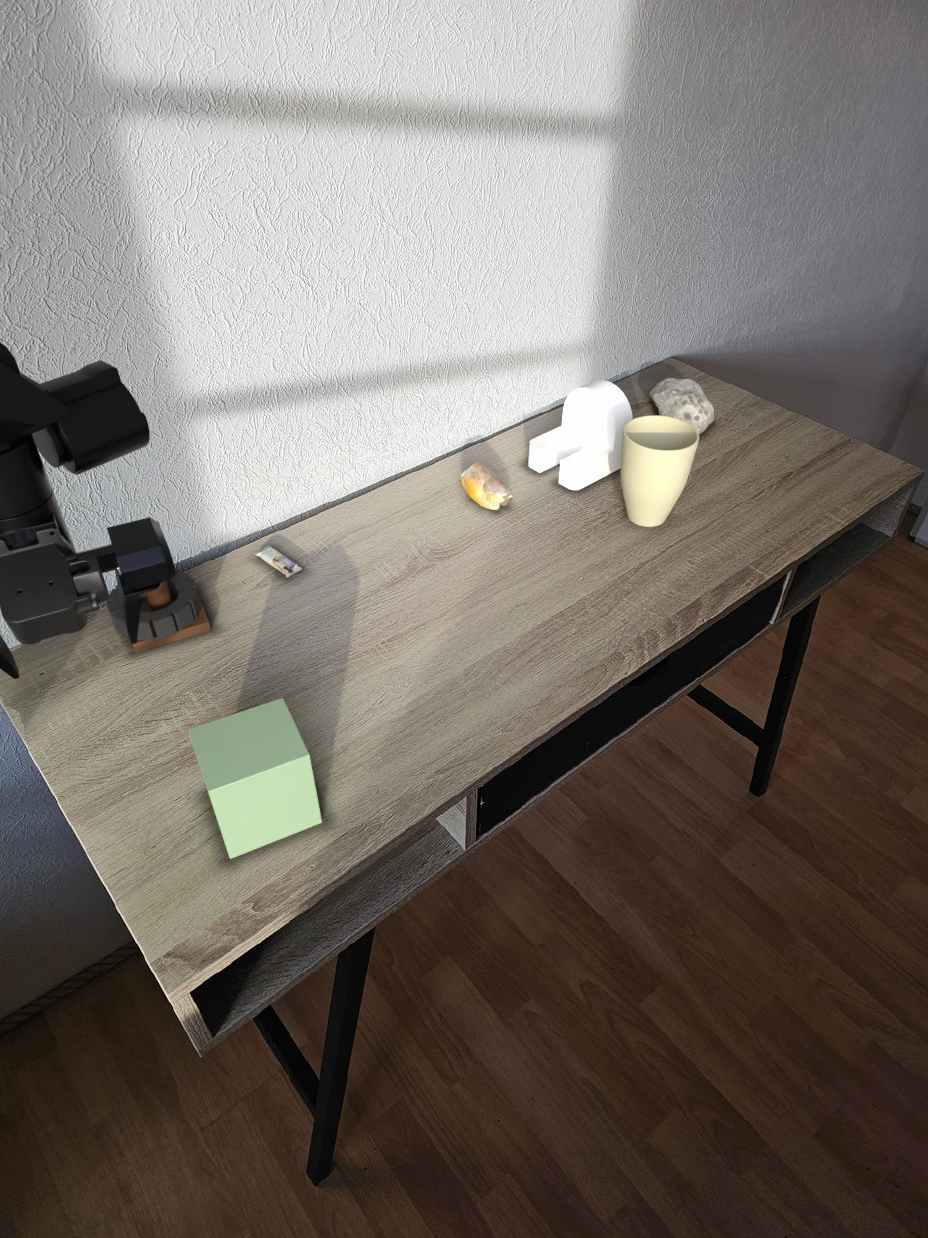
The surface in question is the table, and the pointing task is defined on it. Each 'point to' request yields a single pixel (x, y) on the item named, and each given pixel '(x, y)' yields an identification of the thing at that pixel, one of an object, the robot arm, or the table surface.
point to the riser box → (257, 776)
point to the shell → (485, 487)
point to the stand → (200, 625)
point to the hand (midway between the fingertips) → (76, 658)
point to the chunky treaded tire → (162, 610)
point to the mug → (655, 466)
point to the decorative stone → (683, 402)
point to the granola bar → (278, 561)
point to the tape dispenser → (585, 436)
